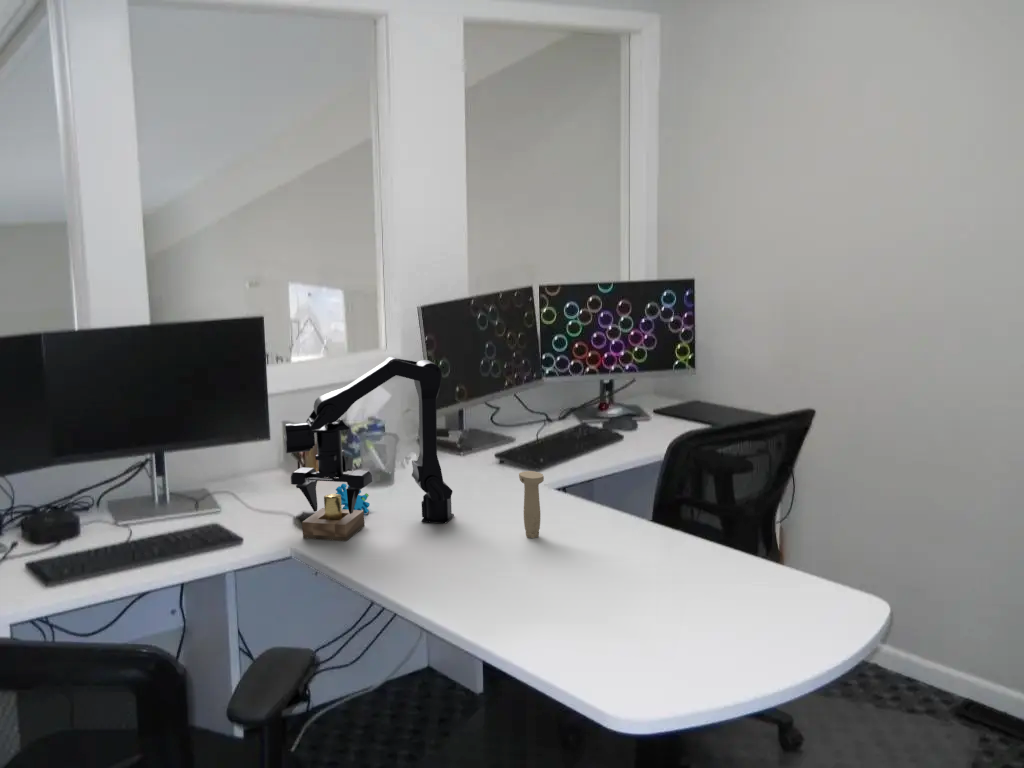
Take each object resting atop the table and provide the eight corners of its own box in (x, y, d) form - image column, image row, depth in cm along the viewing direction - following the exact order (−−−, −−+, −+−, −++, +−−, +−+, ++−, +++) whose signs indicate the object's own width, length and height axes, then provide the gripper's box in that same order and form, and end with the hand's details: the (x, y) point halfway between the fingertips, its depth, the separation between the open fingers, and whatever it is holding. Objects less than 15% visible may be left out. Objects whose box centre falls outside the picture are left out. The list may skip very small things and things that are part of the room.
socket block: (364, 526, 244) (363, 510, 243) (346, 541, 234) (345, 524, 233) (323, 523, 247) (322, 508, 246) (303, 538, 236) (302, 522, 236)
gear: (351, 516, 247) (331, 484, 250) (337, 530, 249) (318, 498, 253) (380, 510, 256) (360, 479, 259) (367, 524, 259) (348, 493, 262)
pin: (345, 526, 241) (343, 494, 240) (338, 531, 238) (336, 499, 236) (330, 525, 242) (328, 493, 241) (322, 530, 239) (321, 498, 237)
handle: (531, 542, 230) (530, 479, 227) (516, 534, 235) (514, 473, 233) (548, 538, 233) (547, 475, 230) (533, 530, 238) (532, 470, 235)
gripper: (379, 442, 242) (382, 504, 245) (308, 439, 247) (312, 500, 249) (361, 453, 231) (364, 518, 234) (287, 450, 236) (291, 514, 239)
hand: (333, 512), depth 239 cm, fingers open, 9 cm apart
